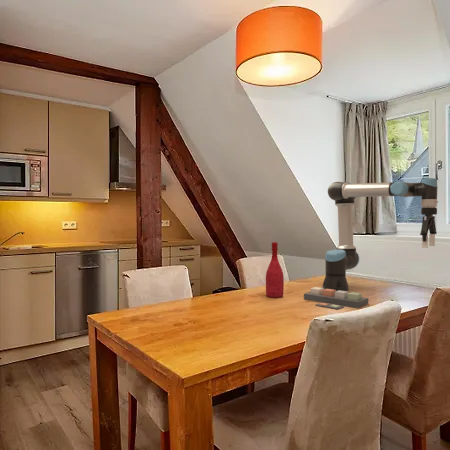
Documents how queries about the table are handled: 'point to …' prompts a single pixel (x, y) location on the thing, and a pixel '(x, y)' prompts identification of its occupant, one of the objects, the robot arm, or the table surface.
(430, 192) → the robot arm
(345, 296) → the key beige
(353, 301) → the keypad
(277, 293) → the wine bottle
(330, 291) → the key terracotta
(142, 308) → the table surface
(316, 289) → the key ivory
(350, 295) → the key sage
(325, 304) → the placard
